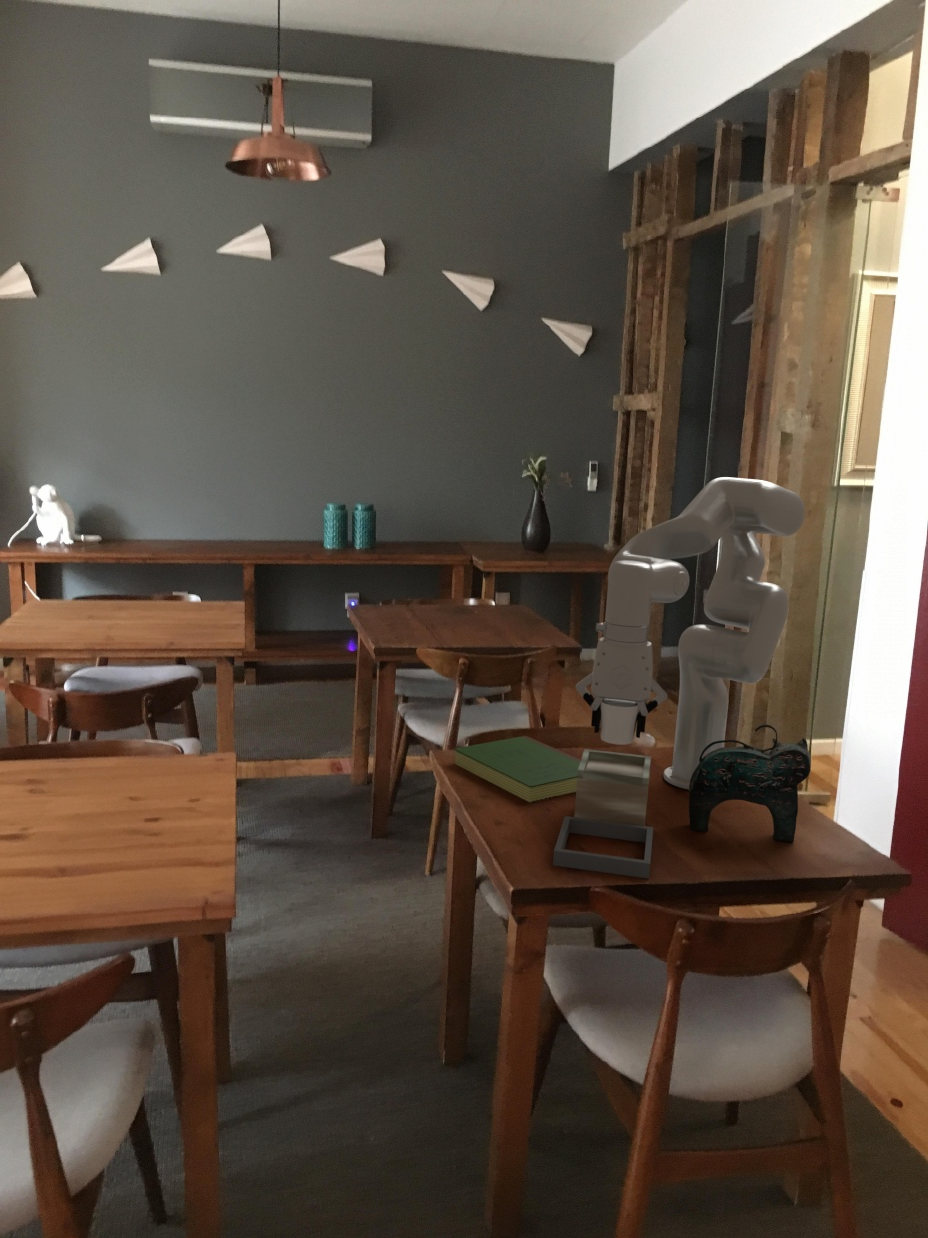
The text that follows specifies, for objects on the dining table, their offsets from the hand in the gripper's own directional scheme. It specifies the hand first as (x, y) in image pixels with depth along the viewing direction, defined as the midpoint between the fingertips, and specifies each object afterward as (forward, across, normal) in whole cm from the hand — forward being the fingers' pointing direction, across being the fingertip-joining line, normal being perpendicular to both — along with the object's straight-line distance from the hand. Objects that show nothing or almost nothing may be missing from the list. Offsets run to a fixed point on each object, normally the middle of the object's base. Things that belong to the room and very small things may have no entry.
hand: (617, 732), depth 177 cm
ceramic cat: (+16, +23, +1) cm, 28 cm away
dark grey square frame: (+16, 0, -15) cm, 22 cm away
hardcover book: (+17, -18, +18) cm, 31 cm away
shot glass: (+1, 0, 0) cm, 1 cm away
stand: (+16, 0, 0) cm, 16 cm away
